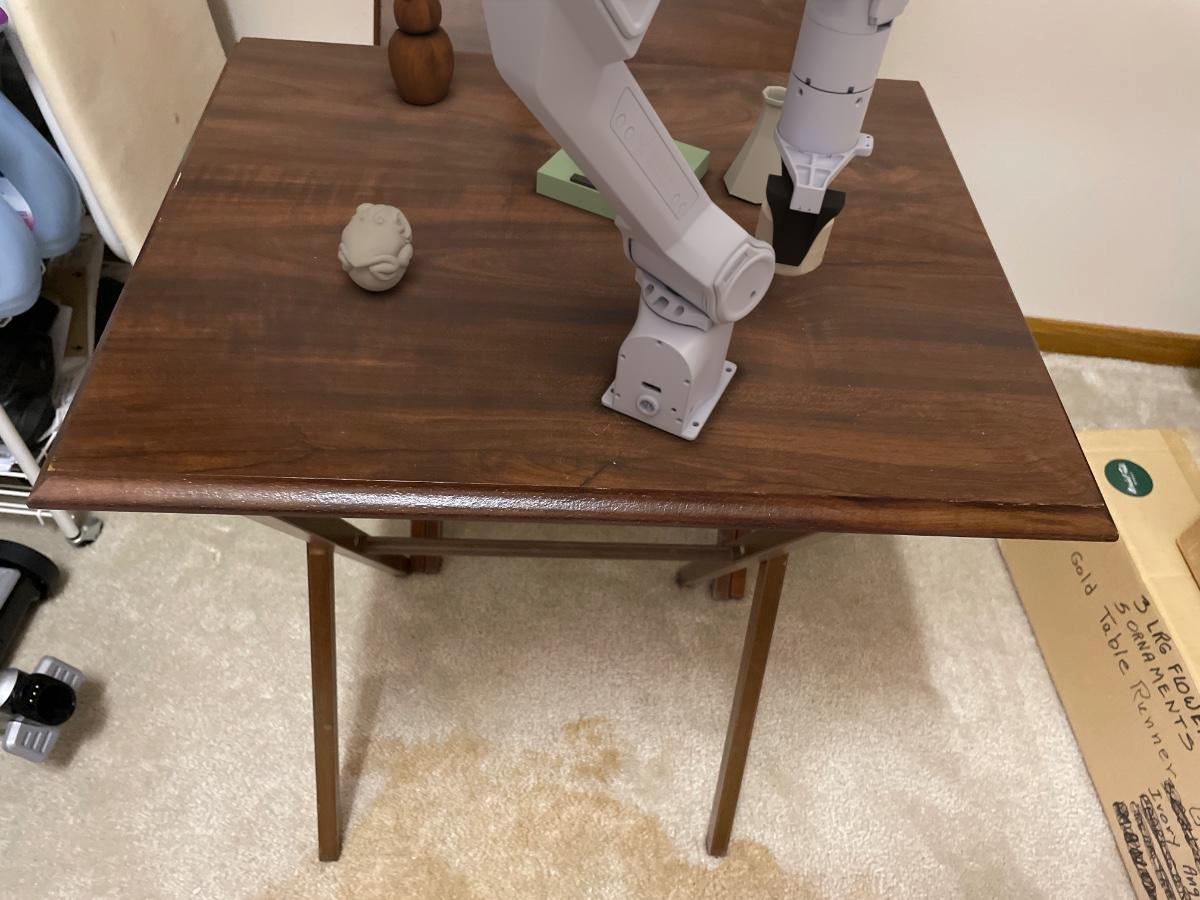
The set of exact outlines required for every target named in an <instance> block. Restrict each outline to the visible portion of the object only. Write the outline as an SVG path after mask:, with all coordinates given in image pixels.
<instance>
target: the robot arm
mask: <svg viewBox="0 0 1200 900" xmlns="http://www.w3.org/2000/svg"><path fill="white" fill-rule="evenodd" d="M480 2H481V6H482V11H483V17H484V21H485V26H486V30H487V36H488V39H489V45H490V49H491V54H492V58H493V62H494V66H495V68H496V70H497V71H498V73H499V75H500V76H501V78H502V80H503V82H505V84H507V86H508V87H509V88H510V89H511V90H512V92H513V93H514V94H515V95H516V97H518V98H519V100H520V101H521V102H522V103H523V104H524V106H525V107H526V108H527V109H528V110H529V112H530V113H531V114H532V115H533V117H535V119H537V121H538V122H539V123H540V125H542V127H543V128H544V130H546V131H547V133H548V134H549V135H550V136H551V137H552V139H553V140H554V141H555V142H556V143H557V145H559V147H560V149H561V148H562V149H563V150H564V151H565V152H566V154H567V155H568V156H569V157H570V158H571V159H572V161H573V162H574V163H575V164H576V165H577V167H578V168H579V169H580V170H581V171H582V172H583V174H584V175H585V176H586V177H587V178H588V179H589V181H590V182H591V183H592V184H593V185H594V187H595V188H596V189H597V190H598V191H599V192H600V194H601V195H602V196H603V197H604V198H605V199H606V201H607V202H608V203H609V204H610V205H611V206H612V208H613V209H614V210H615V211H616V212H617V214H618V215H617V217H616V219H615V220H613V221H614V222H613V223H614V225H615V226H616V228H617V229H618V230H619V232H620V233H621V236H622V247H623V249H622V250H623V253H624V256H625V257H626V259H627V260H628V261H629V262H630V263H631V264H633V265H635V267H636V268H635V275H634V281H636V282H637V283H638V285H639V286H640V289H641V290H640V296H639V303H638V311H637V317H636V320H635V322H634V325H633V326H632V328H631V330H630V332H629V333H628V335H627V336H626V338H625V339H624V340H623V341H622V343H621V345H620V348H619V351H618V355H617V363H616V372H615V378H614V380H613V381H612V383H611V384H610V386H608V388H607V389H606V391H605V392H604V393H603V395H602V396H601V402H600V403H601V404H602V405H603V406H605V407H607V408H609V409H612V410H614V411H616V412H619V413H621V414H624V415H627V416H629V417H632V418H634V419H635V420H636V419H637V420H638V421H641V422H644V423H646V424H648V425H651V426H653V427H655V428H658V429H660V430H663V431H665V432H668V433H670V434H673V435H675V436H677V437H680V438H682V439H685V440H687V441H695V440H696V439H697V437H698V435H699V434H700V432H701V431H702V429H703V428H704V425H705V424H706V422H707V421H708V419H709V417H710V415H711V414H712V412H713V410H714V409H715V407H716V405H717V404H718V402H719V400H720V398H721V397H722V395H723V393H724V392H725V390H726V389H727V387H728V386H729V384H730V382H731V380H732V379H733V377H734V375H735V374H736V372H737V368H738V367H737V364H736V363H734V362H733V361H729V360H726V358H727V354H728V350H729V346H730V341H731V337H732V333H733V328H734V327H735V322H737V321H739V320H741V319H743V318H744V317H746V316H747V315H748V314H750V313H751V312H752V311H753V310H754V309H755V308H756V307H757V306H758V304H759V303H760V302H761V301H762V299H763V298H764V297H765V295H766V293H767V292H768V290H769V288H770V286H771V283H772V281H773V278H774V274H775V273H774V271H775V263H779V264H784V265H790V266H795V267H799V266H800V264H801V263H802V261H803V260H804V258H805V257H806V255H807V253H808V252H809V250H810V248H811V246H812V244H813V243H814V241H815V239H816V237H817V236H818V234H819V233H820V232H821V230H822V229H823V228H824V227H825V226H826V225H827V224H828V223H829V222H830V221H831V220H832V219H833V218H834V219H835V218H836V217H837V216H839V215H840V213H841V212H842V210H843V209H844V207H845V205H846V196H847V192H846V191H840V190H835V189H829V188H828V187H829V186H830V184H831V183H832V182H833V181H834V179H835V178H836V177H837V176H838V175H839V174H840V173H841V172H842V170H844V169H845V167H846V166H847V165H848V164H849V162H851V160H852V159H853V158H854V157H857V156H859V157H865V158H866V157H870V156H871V154H872V152H873V148H874V141H875V140H874V137H873V135H872V134H868V133H863V132H861V130H862V126H863V123H864V120H865V116H866V112H867V111H868V106H869V102H870V99H871V97H872V95H873V94H872V93H873V90H874V87H875V83H876V81H877V77H878V74H879V71H880V67H881V64H882V61H883V57H884V54H885V51H886V47H887V45H888V41H889V38H890V34H891V31H892V28H893V25H894V21H895V18H897V17H900V16H901V15H903V13H904V11H905V8H906V7H907V6H908V5H909V2H910V0H806V2H805V6H804V11H803V15H802V18H801V19H802V20H801V23H800V28H799V34H798V37H797V42H796V46H795V50H794V54H793V55H794V56H793V59H792V63H791V68H790V71H789V76H788V79H787V80H788V81H787V85H786V88H787V90H786V94H785V98H784V103H783V107H782V112H781V116H780V119H779V120H778V121H777V123H776V126H775V130H774V134H773V137H774V142H775V144H776V146H777V148H778V150H779V153H780V155H781V165H782V176H779V175H774V174H769V176H768V181H767V186H766V198H767V202H768V204H769V207H770V210H771V213H772V219H773V241H772V246H771V245H769V244H768V243H767V242H765V241H760V240H757V239H755V238H754V237H755V236H753V235H751V234H749V233H748V231H746V230H745V229H744V228H743V227H742V226H741V225H740V224H738V223H737V222H736V221H735V220H734V219H733V218H732V217H730V215H728V214H727V213H726V212H725V211H723V210H722V209H721V208H720V207H719V206H718V205H716V204H715V203H714V202H713V201H712V200H711V198H710V196H709V195H708V193H707V192H706V190H705V188H704V187H703V185H702V184H701V182H700V181H699V180H698V179H697V177H696V176H695V174H694V172H693V171H692V169H691V168H690V166H689V164H688V163H687V161H686V160H685V158H684V157H683V155H682V153H681V152H680V150H679V149H678V147H677V145H676V144H675V142H674V141H673V140H674V139H673V137H672V136H671V134H670V133H669V131H668V130H667V128H666V126H665V125H664V123H663V121H662V120H661V119H660V117H659V115H658V114H657V112H656V110H655V108H654V107H653V106H652V104H651V102H650V101H649V99H648V97H647V96H646V94H645V93H644V91H643V90H642V88H641V86H640V85H639V83H638V82H637V80H636V78H635V77H634V76H633V74H632V72H631V71H630V69H629V67H628V66H627V64H626V63H625V61H626V60H629V59H632V58H634V57H635V55H636V54H637V52H638V50H639V47H640V45H641V43H642V41H643V39H644V37H645V35H646V33H647V31H648V28H649V26H650V24H651V22H652V19H653V18H654V16H655V14H656V12H657V9H658V7H659V5H660V3H661V0H480Z"/></svg>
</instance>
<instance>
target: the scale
mask: <svg viewBox="0 0 1200 900" xmlns="http://www.w3.org/2000/svg"><path fill="white" fill-rule="evenodd" d="M673 141H674V142H675V144H676V145H677V147H678V149H679V150H680V152H681V153H682V155H683V157H684V158H685V160H686V161H687V163H688V164H689V166H690V168H691V169H692V171H693V172H694V174H695V176H696V177H697V179H698V180H699V182H700V181H701V180H702V178H703V177H704V176H705V175H706V174H707V171H708V166H709V161H710V155H711V151H709V150H706V149H703V148H700V147H697V146H694V145H691V144H688V143H684V142H682V141H679V140H676V139H673ZM535 189H536V191H535V192H536V193H537V194H539V195H542V196H545V197H548V198H550V199H554V200H557V201H559V202H563V203H565V204H568V205H571V206H573V207H575V208H579V209H582V210H585V211H587V212H590V213H593V214H596V215H599V216H601V217H604V218H608V219H610V220H612V221H615V219H616V217H617V215H618V214H617V212H616V211H615V210H614V209H613V208H612V206H611V205H610V204H609V203H608V202H607V201H606V199H605V198H604V197H603V196H602V195H601V194H600V192H599V191H598V190H597V189H596V188H595V187H594V185H593V184H592V183H591V182H590V181H589V179H588V178H587V177H586V176H585V175H584V174H583V172H582V171H581V170H580V169H579V168H578V167H577V165H576V164H575V163H574V162H573V161H572V159H571V158H570V157H569V156H568V155H567V154H566V152H565V151H564V150H563V149H562V148H561V147H560V149H559V150H558V151H557V152H556V153H555V154H553V156H551V158H549V159H548V160H547V161H546V162H545V163H544V164H542V166H541V167H540V168H539V169H538V170H536V188H535Z"/></svg>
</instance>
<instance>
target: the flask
mask: <svg viewBox="0 0 1200 900" xmlns="http://www.w3.org/2000/svg"><path fill="white" fill-rule="evenodd" d="M786 90H787V87H784V86H780V85H767V86H766V87H765V88H764V89H763V90H762V91H761V98H762V99H763V100H762V106H761V110H760V113H759V115H758V117H757V120H756V123H755V125H754V127H753V129H752V131H751V132H750V133H749V136H748V137H747V138H746V139H747V140H746V141H745V143H744V144H743V146H742V147H741V149H740V151H739V153H737V156H736V157H735V159H734V160H733V162H732V163H731V165H730V166H729V168H728V170H727V171H726V173H725V174H724V176H723V181H724V184H725V186H726V188H727V191H728V194H729V195H732V196H735V197H737V198H740V199H742V200H745V201H748V202H750V203H753V204H762V203H763V199H764V198H765V197H766V186H767V181H768V176H769V174H774V175H779V176H782V165H781V155H780V153H779V150H778V148H777V146H776V144H775V142H774V137H773V134H774V130H775V126H776V123H777V121H778V120H779V119H780V116H781V112H782V107H783V103H784V98H785V94H786Z"/></svg>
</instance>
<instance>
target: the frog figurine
mask: <svg viewBox="0 0 1200 900" xmlns="http://www.w3.org/2000/svg"><path fill="white" fill-rule="evenodd" d="M355 210H356V212H355V214H354V215H352V216H351V220H350V221H349V223H348V224H347V225H346V226H345V228H344V229H343V230H342V234H341V242H340V244H339V245H338V253H337V258H338V260H339V261H340V262H341V263H342V264H341V269H342V270H343V271H344V272H345V273H346V272H347V273H348V276H349V277H350V279H351V280H352V281H353V282H354V283H355V284H356V285H358V286H359V287H360V288H362V289H364V290H366V291H371V292H382V291H386V290H389V289H391V288H393V287H394V286H396V285H397V284H398V283H399V282H400V280H401V279H402V278H403V276H404V275H405V273H406V272H407V267H408V266H409V265H410V260H411V259H412V258H413V254H414V249H413V248H414V247H413V245H412V244H411V243H412V242H413V233H412V228H411V225H410V224H409V221H408V220H407V218H406V216H405V215H404V214H403V212H402V211H401V210H400V209H399V208H397V207H395V206H393V205H386V204H381V203H379V204H373V203H371V202H363V203H362V204H360V205H358V206H357V207H356V209H355Z"/></svg>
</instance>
